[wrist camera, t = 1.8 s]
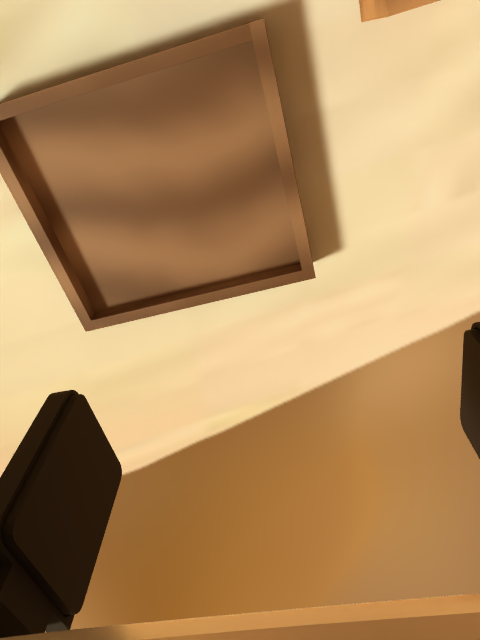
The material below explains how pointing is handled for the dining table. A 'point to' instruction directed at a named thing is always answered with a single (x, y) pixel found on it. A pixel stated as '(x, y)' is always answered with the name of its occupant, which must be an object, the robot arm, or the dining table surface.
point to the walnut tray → (161, 180)
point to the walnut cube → (387, 7)
